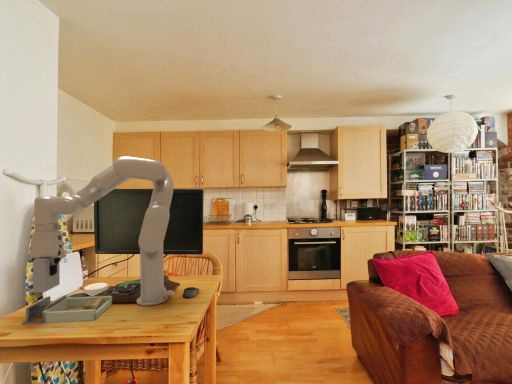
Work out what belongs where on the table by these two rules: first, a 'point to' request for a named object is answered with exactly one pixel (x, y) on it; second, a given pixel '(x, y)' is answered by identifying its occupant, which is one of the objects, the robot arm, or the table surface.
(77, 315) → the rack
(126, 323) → the table surface
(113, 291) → the disk drive
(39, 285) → the sheet
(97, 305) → the offcut upper
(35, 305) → the stand
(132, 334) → the table surface
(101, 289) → the white fluted dish
